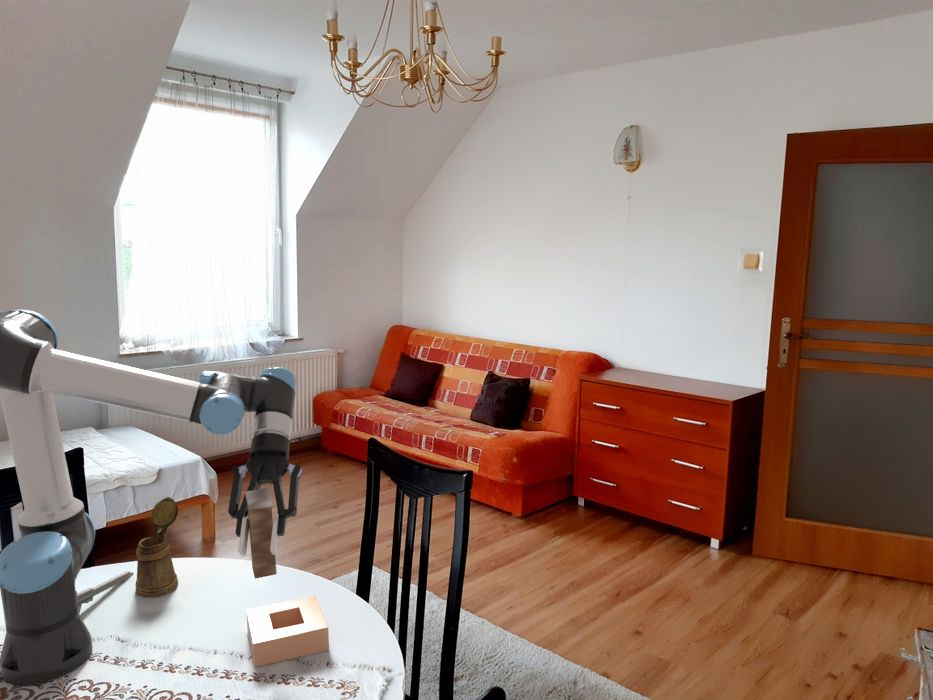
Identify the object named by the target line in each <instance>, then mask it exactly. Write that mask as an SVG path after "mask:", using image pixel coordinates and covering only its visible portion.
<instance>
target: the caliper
mask: <svg viewBox="0 0 933 700" xmlns="http://www.w3.org/2000/svg"><path fill="white" fill-rule="evenodd" d="M134 574H135V572H133V571H128V570H126V571H124V572H121V573H120V574H118V575H116V576H114V577H111V578H109V579H108V580H106V581H104V582H101V583H99V584H98V585H96V586H94V587H88V588H86V589H83V590H82V591H80V592H78V590H77V591H76V599H77V608H78V613H79V615H80V614H81V610H82V609H81V608H82V605H84V604H88V603H89V602H92V601H93V600H94V597H95V596H97V595H99V594H101V593H103V592H104V591H107V590H109V589H111V588H112V587H115V586H116V585H119V584H120V583H122V582H124V581H126V580H128V579H129V578H130V577H131V576H132V575H134Z"/></svg>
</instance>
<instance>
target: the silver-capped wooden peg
mask: <svg viewBox="0 0 933 700" xmlns="http://www.w3.org/2000/svg"><path fill="white" fill-rule="evenodd" d="M245 494H246V502H247V507H248V516H247V518H248V520H249V541H250V542H249V543H250V554H251V555H250V556H251V566H252V571H253V576H254V579H260V578H265V577H269V576H275V575H277V563H276V560H277V559H276V555H273V554H272V553H271V551H270V547H271V538H272V529H273V519H274V517H273V509H272V508H273V500H272V499H273V498H272V494H271V491H270V489H269V487H267V488H260V489H259V490H253V491H247V490H246V491H245Z"/></svg>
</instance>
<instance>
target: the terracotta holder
mask: <svg viewBox="0 0 933 700" xmlns="http://www.w3.org/2000/svg"><path fill="white" fill-rule="evenodd" d="M245 610H246V611H245V612H246V626H247V636H248V641H249V646H250V650H251V655H252V660H253V661H252V662H253V665H254V668H258V667H261V666H266V665H271V664H275V663H280V662H283V661H289V660H291V659H297V658H301V657H304V656H306V657H307V656H310V655H313V654H318V653H322V652H327V651H330V646H329V644H330V641H329V639H330V638H329V626H328V623H327V621H326V618H325V615H324V613H323V610H322V607H321V606H320V602H319V599H318V597H317V595H312V596H309V597H303V598H302V597H301V598H297V599H294V600H292V599H291V600H289V601H282V602H278V603H273V604H269V605H267V604H266V605H263V606H257V607H253V608H248V609H245Z"/></svg>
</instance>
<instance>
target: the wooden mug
mask: <svg viewBox="0 0 933 700" xmlns="http://www.w3.org/2000/svg"><path fill="white" fill-rule="evenodd" d="M152 508H153V509H152V511H151V516H150V519H151V522H152V524H153V525H154V528H155V529H154V530H155V531H154V534H153V536H148V537H145V538H142V539H141V540H140V541H139V542H138V544H137V548H136V559H137V566H136V567H137V568H136V580H135V592H134V593H135V594H136V595H137V596H139V597H142V598H149V599H151V598H158V597H162V596H165V595H168V594H169V593H172V592H173V591H174V590H176V589H177V587H178V585H179V579H178V574H177V573H176V571H175V568H174V567H175V566H174V562H173V559H172V555H171V551H172V550H171V545H170V543H169V542H168V541H169V540H168V534H167V531H168V528H169V526H171V525H172V524H173V523H174V522H175V521H176V520H177V517H178V513H179V507H178V504H177V502H176V501H175V500H174V499H173V498H171V497H170V496H167V497H164V498H163V499H161V500H159V501H158V502H157V503H156V504H155V505H154V506H153V507H152Z"/></svg>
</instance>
